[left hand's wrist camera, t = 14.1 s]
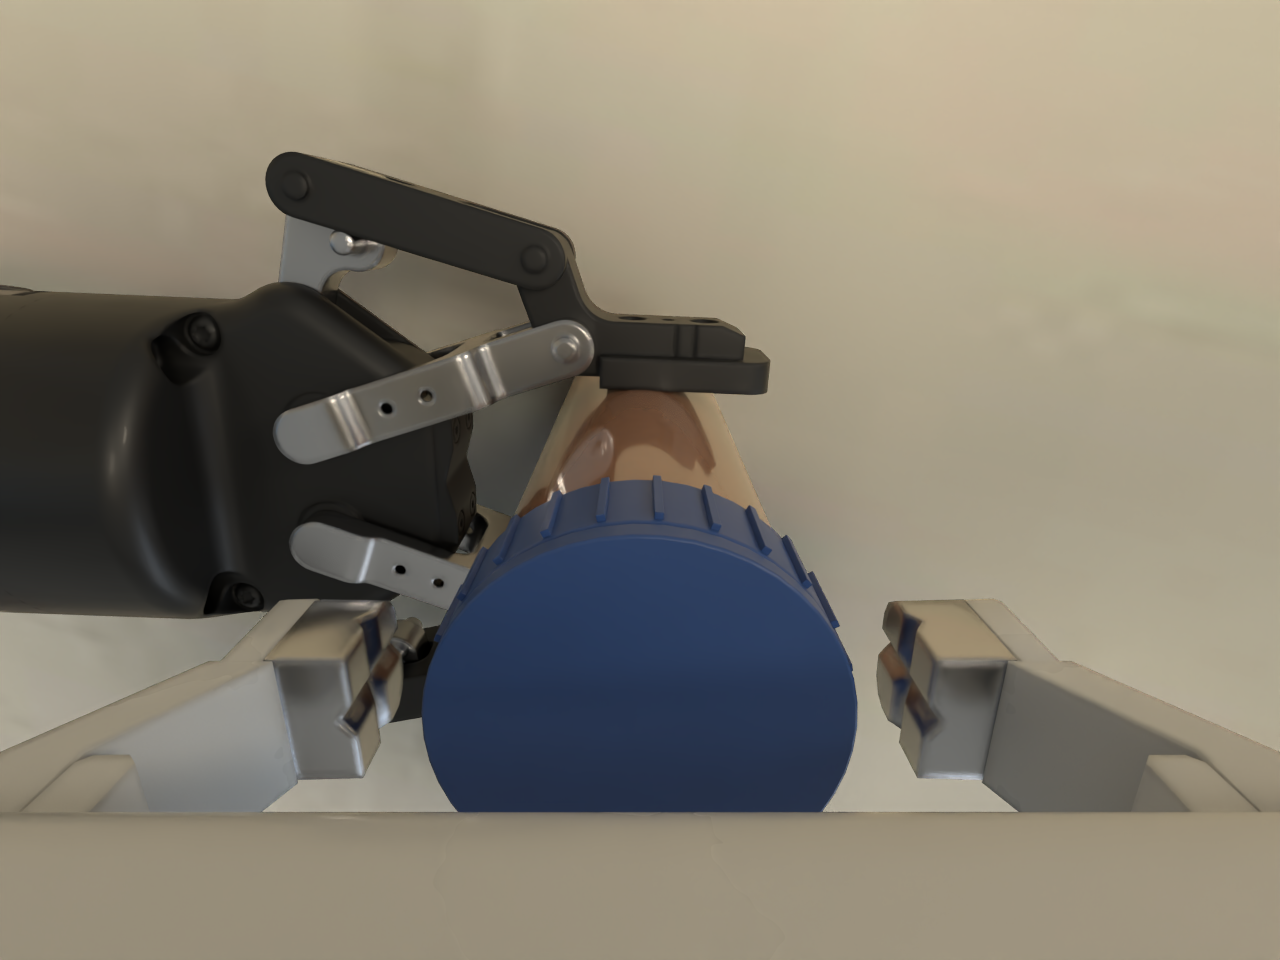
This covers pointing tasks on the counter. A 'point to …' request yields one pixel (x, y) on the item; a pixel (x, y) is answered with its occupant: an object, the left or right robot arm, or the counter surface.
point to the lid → (639, 663)
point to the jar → (638, 444)
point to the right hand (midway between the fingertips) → (748, 480)
